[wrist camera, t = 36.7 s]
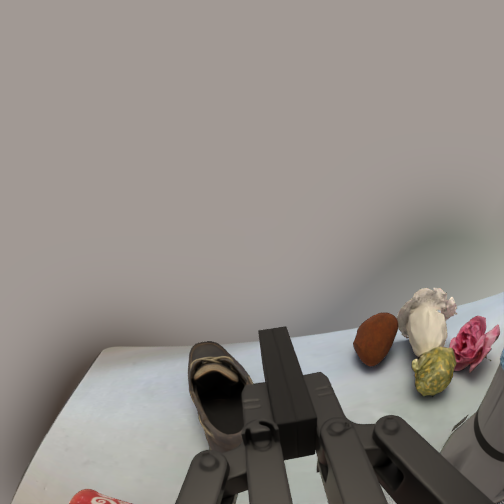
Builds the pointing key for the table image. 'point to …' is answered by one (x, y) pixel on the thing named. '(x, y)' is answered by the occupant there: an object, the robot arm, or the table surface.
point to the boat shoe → (217, 394)
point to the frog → (429, 338)
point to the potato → (375, 338)
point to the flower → (473, 343)
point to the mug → (93, 498)
